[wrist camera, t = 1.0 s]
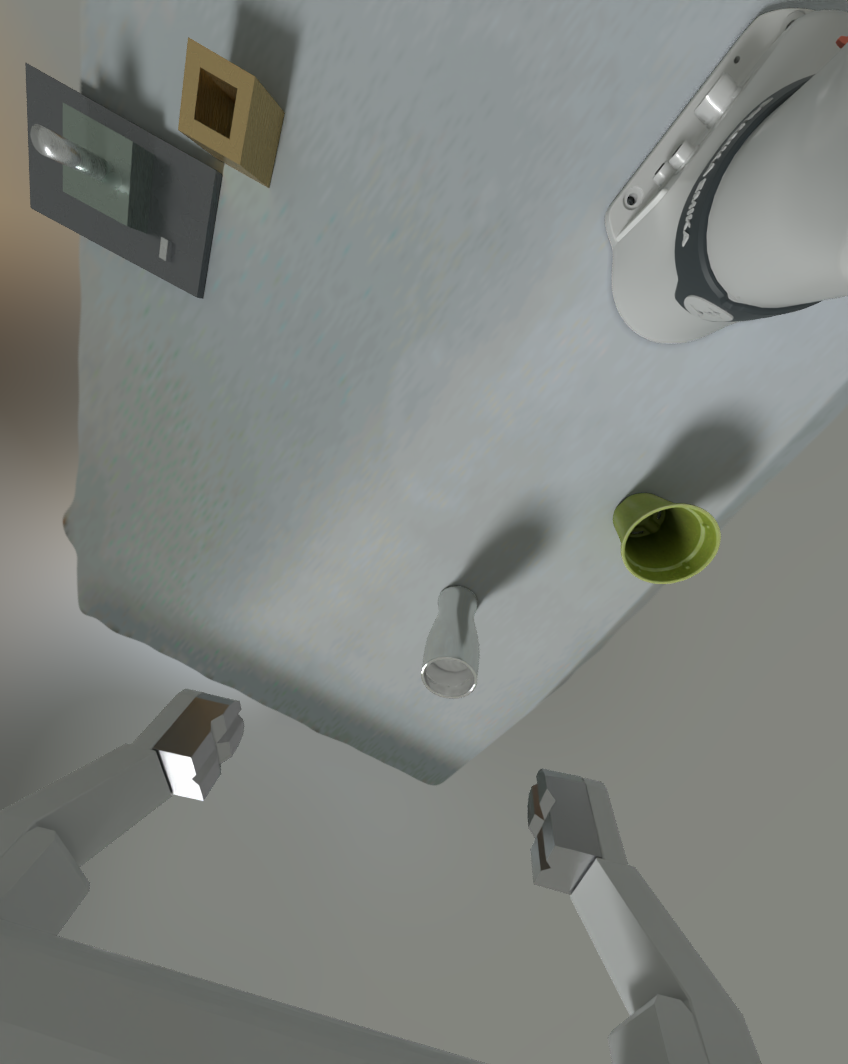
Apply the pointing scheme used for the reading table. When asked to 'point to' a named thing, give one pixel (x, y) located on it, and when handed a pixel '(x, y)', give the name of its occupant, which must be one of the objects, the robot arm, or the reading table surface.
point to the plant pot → (665, 538)
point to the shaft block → (119, 184)
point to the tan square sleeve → (229, 113)
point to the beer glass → (452, 646)
